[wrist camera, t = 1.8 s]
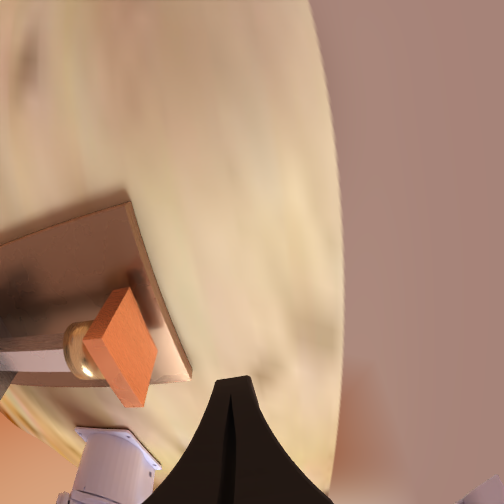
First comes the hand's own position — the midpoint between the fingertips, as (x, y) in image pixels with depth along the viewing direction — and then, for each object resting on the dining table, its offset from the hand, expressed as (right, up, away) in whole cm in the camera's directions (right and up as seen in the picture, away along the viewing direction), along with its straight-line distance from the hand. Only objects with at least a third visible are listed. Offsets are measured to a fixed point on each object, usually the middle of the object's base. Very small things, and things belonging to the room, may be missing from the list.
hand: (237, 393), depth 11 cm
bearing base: (-19, 0, +9) cm, 21 cm away
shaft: (-16, -1, +6) cm, 17 cm away
